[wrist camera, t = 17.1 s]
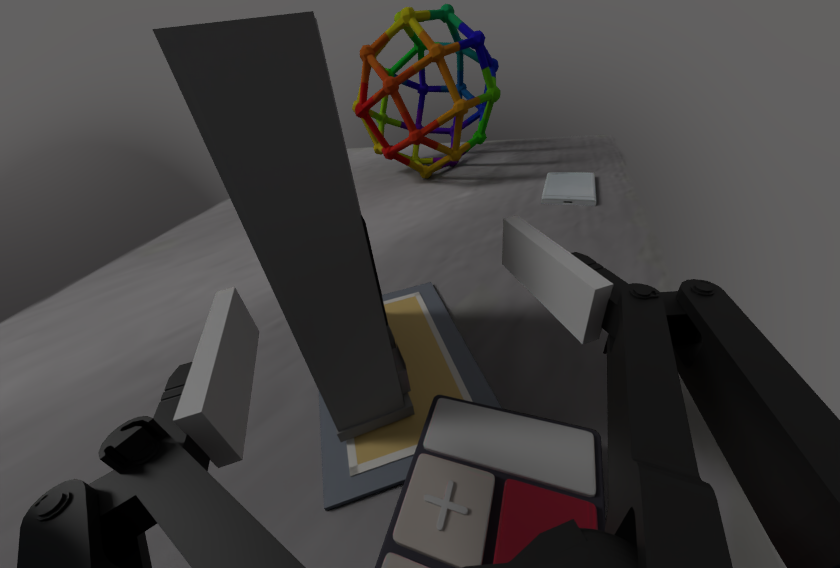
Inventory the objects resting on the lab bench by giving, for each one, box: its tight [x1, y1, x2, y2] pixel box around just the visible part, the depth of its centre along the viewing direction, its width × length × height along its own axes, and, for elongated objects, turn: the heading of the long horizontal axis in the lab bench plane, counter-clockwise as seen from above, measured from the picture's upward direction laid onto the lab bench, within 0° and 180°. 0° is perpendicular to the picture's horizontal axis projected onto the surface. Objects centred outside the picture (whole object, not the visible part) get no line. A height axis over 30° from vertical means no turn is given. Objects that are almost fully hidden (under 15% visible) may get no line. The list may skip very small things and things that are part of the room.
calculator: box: [375, 395, 606, 568], centre depth 19 cm, size 11×4×15 cm
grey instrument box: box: [153, 11, 415, 442], centre depth 24 cm, size 14×6×25 cm, turn 20°
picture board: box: [319, 282, 502, 511], centre depth 32 cm, size 14×21×1 cm, turn 16°
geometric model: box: [352, 4, 500, 179], centre depth 68 cm, size 30×30×30 cm
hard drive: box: [541, 172, 596, 206], centre depth 59 cm, size 2×8×12 cm
